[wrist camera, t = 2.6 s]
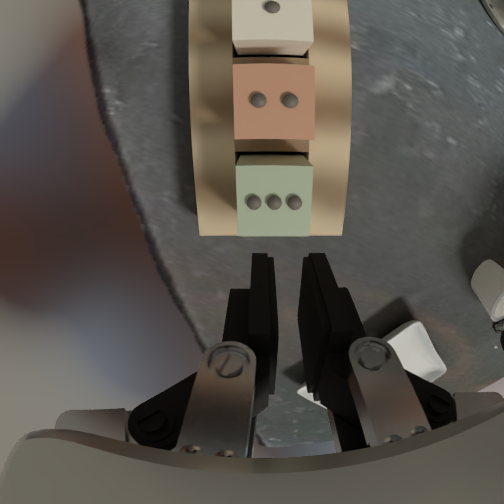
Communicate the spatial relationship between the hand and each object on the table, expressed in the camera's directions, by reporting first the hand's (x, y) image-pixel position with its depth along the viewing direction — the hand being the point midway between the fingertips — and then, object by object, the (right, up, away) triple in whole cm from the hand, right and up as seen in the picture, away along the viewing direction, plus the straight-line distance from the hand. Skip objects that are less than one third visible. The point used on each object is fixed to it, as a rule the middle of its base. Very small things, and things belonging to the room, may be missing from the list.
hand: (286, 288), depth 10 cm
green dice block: (0, +7, +13) cm, 15 cm away
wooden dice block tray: (0, +14, +12) cm, 18 cm away
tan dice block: (0, +13, +10) cm, 16 cm away
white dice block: (0, +19, +6) cm, 20 cm away
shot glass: (+34, -2, +20) cm, 39 cm away
